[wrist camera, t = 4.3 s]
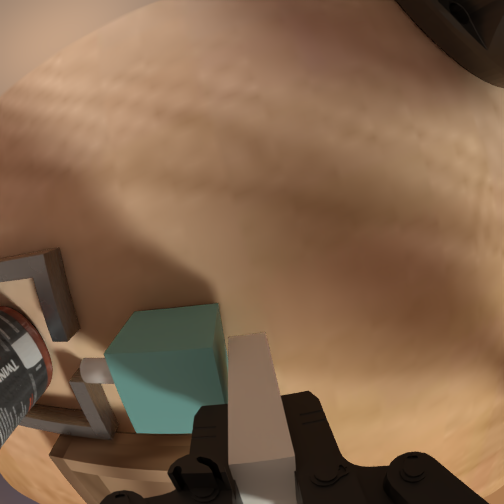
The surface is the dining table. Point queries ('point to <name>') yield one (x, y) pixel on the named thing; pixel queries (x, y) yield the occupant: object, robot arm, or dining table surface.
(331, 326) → the dining table surface
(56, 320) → the socket collar
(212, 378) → the pin
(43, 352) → the supplement bottle
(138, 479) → the open box
